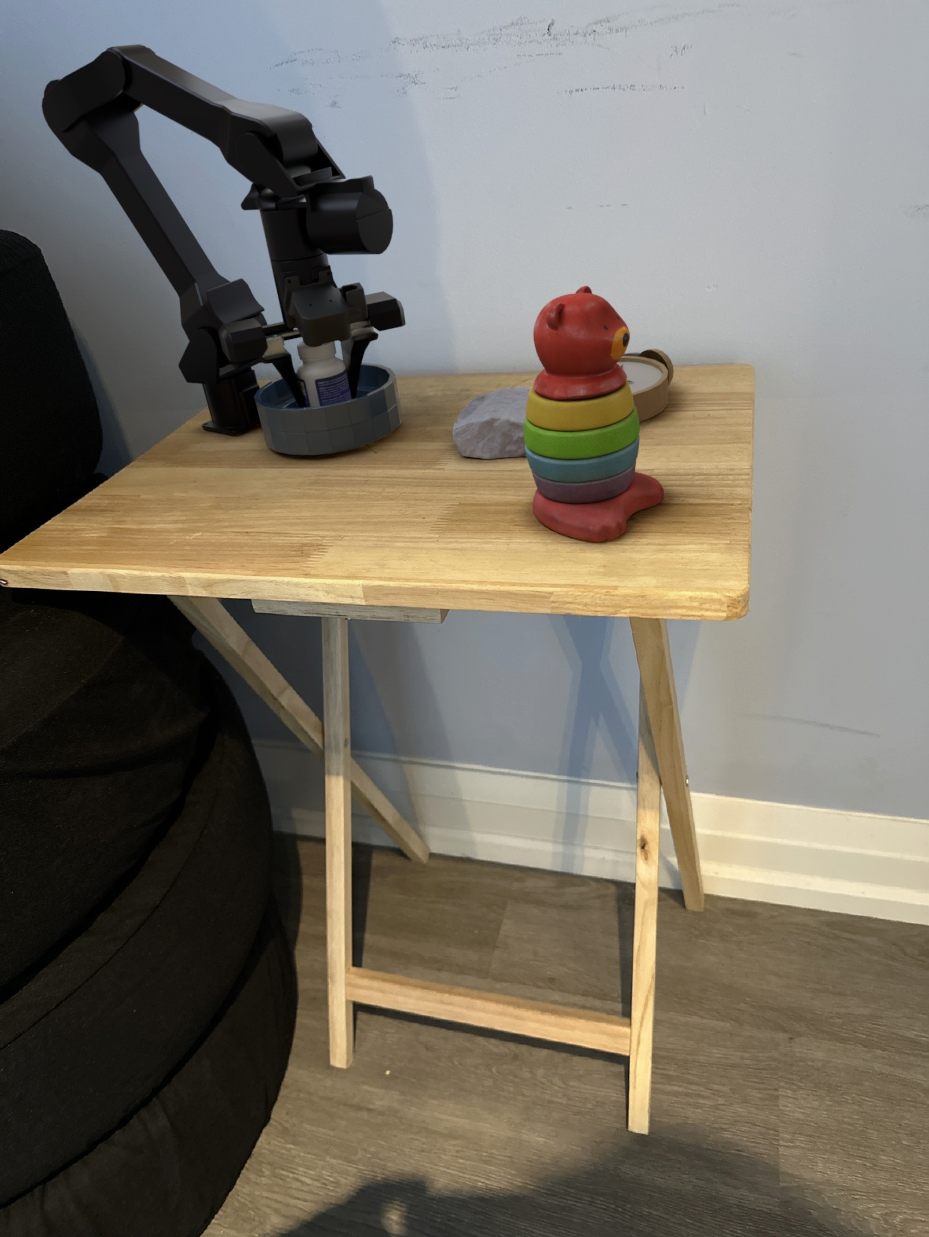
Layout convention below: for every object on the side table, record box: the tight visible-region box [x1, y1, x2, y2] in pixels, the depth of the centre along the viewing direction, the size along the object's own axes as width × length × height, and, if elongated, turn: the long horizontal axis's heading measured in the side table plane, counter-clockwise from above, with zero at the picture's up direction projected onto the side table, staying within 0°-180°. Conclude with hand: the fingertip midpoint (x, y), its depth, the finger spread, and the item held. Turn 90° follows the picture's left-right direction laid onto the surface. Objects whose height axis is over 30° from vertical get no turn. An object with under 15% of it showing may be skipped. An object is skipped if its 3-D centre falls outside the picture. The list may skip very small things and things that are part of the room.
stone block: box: [451, 386, 531, 460], centre depth 95 cm, size 12×5×10 cm
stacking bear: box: [524, 285, 665, 542], centre depth 74 cm, size 11×10×18 cm
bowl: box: [254, 362, 403, 456], centre depth 101 cm, size 15×15×6 cm
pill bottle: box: [296, 340, 352, 408], centre depth 100 cm, size 5×5×9 cm
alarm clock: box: [617, 348, 674, 423], centre depth 99 cm, size 11×5×15 cm
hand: (328, 405), depth 101 cm, fingers closed on pill bottle, 5 cm apart
